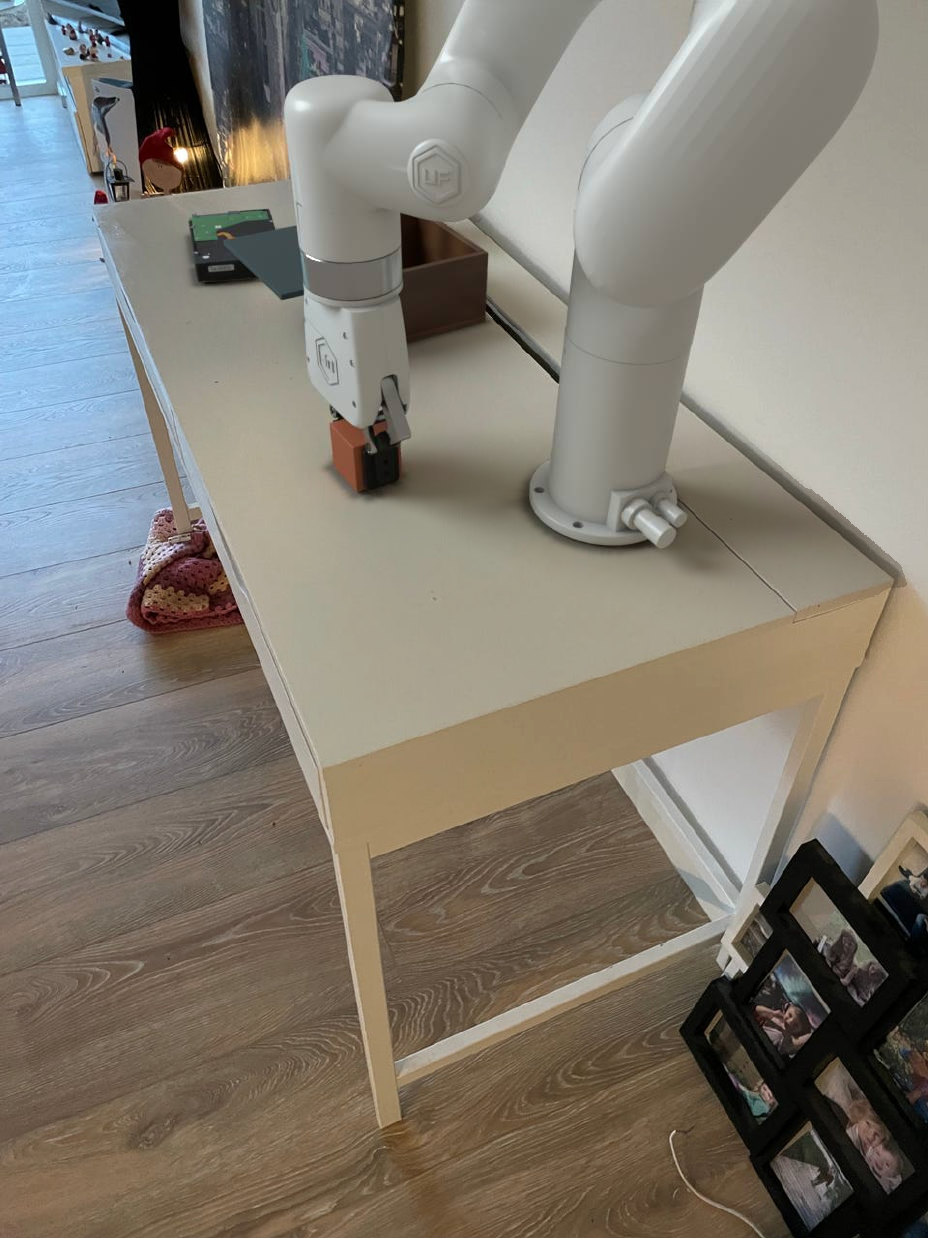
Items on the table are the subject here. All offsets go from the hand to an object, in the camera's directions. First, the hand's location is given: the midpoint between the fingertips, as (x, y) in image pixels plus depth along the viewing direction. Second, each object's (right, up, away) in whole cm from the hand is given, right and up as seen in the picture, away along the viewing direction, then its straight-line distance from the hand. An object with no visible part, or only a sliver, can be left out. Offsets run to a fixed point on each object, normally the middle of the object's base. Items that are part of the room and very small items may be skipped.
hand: (367, 468), depth 83 cm
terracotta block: (0, 0, 0) cm, 0 cm away
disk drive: (-19, +31, +33) cm, 49 cm away
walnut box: (+2, +22, +24) cm, 32 cm away
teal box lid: (-7, +24, +14) cm, 28 cm away
